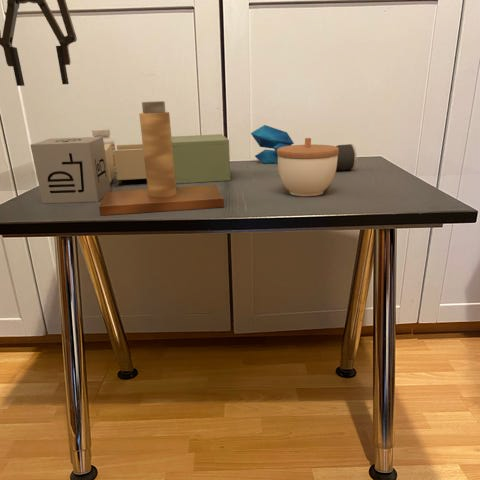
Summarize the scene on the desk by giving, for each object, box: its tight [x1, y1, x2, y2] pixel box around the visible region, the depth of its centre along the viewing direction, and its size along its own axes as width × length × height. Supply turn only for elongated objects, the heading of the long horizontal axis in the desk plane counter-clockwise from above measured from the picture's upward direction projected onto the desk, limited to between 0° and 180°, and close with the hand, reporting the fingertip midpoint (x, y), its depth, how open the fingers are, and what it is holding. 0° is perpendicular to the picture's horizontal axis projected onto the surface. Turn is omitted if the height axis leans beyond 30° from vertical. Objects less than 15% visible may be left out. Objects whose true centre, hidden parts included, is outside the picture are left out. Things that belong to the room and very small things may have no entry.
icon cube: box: [29, 136, 112, 204], centre depth 89 cm, size 10×10×10 cm
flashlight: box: [335, 143, 357, 172], centre depth 106 cm, size 15×5×5 cm, turn 102°
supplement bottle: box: [91, 128, 116, 174], centre depth 113 cm, size 5×5×10 cm
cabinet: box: [171, 133, 231, 185], centre depth 104 cm, size 15×13×8 cm
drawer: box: [104, 143, 147, 184], centre depth 102 cm, size 18×11×6 cm, turn 99°
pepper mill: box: [138, 100, 177, 198], centre depth 80 cm, size 5×5×15 cm
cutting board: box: [98, 184, 225, 216], centre depth 83 cm, size 20×12×2 cm, turn 99°
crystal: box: [250, 124, 295, 165], centre depth 120 cm, size 7×9×12 cm
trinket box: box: [277, 137, 339, 197], centre depth 85 cm, size 11×11×9 cm
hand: (43, 84), depth 94 cm, fingers open, 8 cm apart
